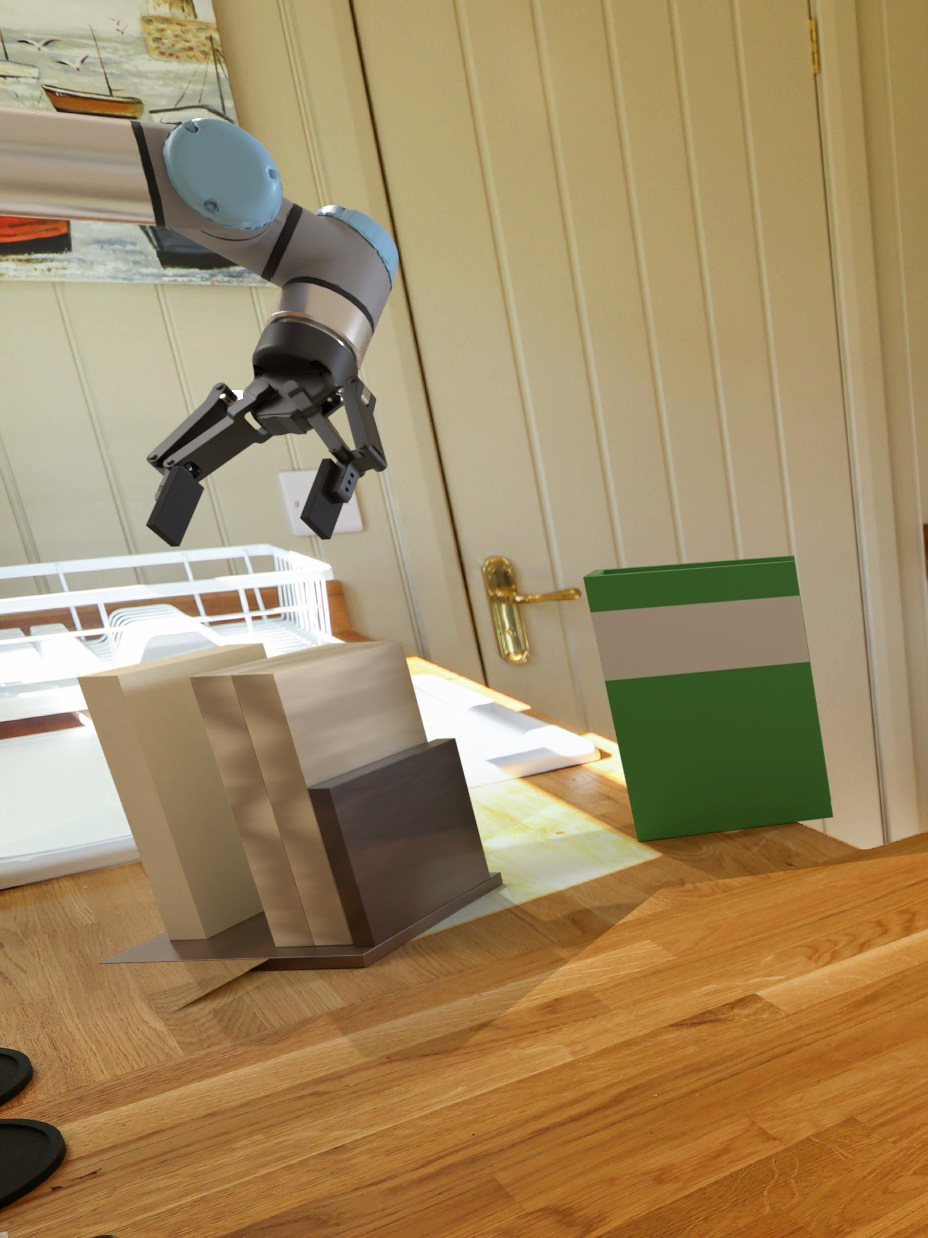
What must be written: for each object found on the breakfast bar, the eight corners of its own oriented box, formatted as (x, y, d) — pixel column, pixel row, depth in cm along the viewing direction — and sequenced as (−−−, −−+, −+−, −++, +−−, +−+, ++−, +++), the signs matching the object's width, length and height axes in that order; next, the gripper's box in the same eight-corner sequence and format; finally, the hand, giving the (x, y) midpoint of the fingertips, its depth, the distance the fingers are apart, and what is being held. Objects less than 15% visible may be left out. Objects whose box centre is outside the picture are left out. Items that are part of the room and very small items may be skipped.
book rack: (102, 975, 92) (-5, 689, 85) (279, 890, 109) (202, 645, 102) (365, 967, 91) (279, 677, 84) (503, 882, 108) (441, 634, 101)
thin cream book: (169, 940, 95) (76, 676, 89) (299, 878, 109) (227, 644, 102) (206, 939, 95) (116, 675, 88) (332, 877, 108) (263, 642, 102)
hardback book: (831, 798, 128) (794, 555, 120) (833, 817, 122) (794, 561, 113) (646, 820, 124) (594, 569, 116) (638, 841, 117) (583, 577, 109)
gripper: (467, 375, 119) (407, 555, 110) (215, 389, 120) (135, 567, 111) (417, 308, 112) (349, 494, 103) (151, 324, 113) (61, 508, 104)
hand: (238, 532), depth 107 cm, fingers open, 13 cm apart
